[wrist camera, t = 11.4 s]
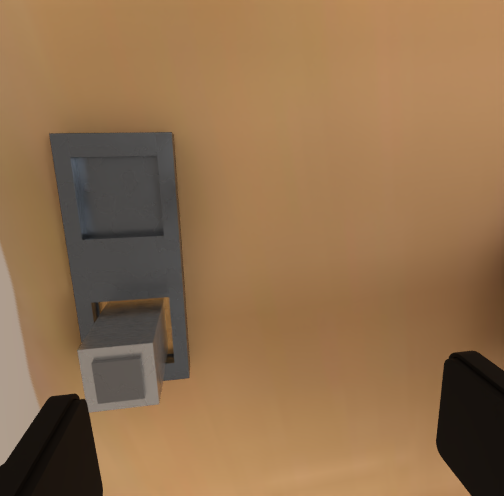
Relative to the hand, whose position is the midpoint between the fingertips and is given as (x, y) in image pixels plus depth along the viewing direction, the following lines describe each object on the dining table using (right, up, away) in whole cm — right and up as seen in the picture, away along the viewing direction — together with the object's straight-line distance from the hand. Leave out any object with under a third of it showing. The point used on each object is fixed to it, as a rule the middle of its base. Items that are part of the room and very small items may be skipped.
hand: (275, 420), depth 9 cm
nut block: (-11, -3, +24) cm, 26 cm away
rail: (-12, +3, +23) cm, 26 cm away
